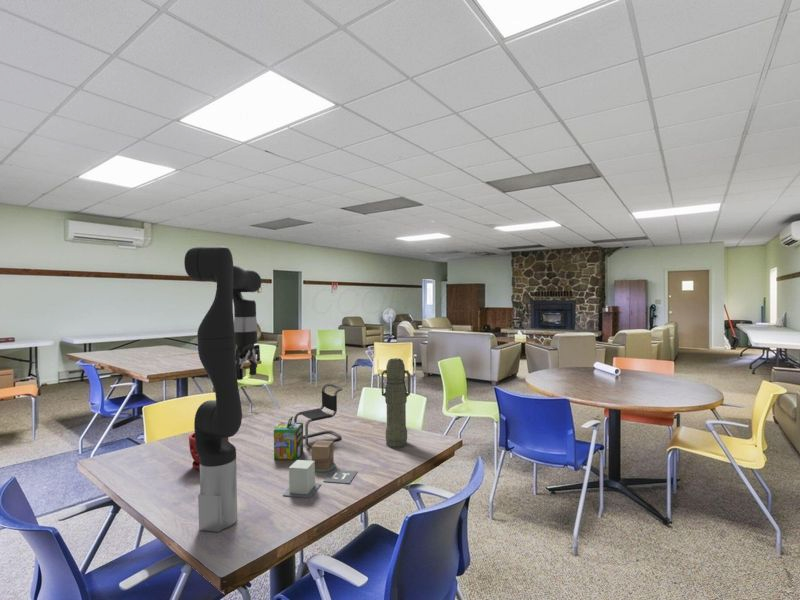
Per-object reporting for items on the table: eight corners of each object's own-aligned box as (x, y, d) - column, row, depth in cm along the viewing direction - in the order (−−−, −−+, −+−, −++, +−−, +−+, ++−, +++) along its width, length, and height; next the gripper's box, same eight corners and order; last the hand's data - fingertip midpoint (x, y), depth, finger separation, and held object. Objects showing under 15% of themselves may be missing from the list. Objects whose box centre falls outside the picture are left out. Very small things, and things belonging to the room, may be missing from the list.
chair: (344, 439, 177) (343, 388, 177) (306, 448, 167) (305, 394, 167) (330, 431, 188) (330, 382, 188) (294, 439, 178) (293, 388, 177)
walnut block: (327, 469, 146) (327, 447, 146) (311, 468, 147) (311, 446, 147) (333, 462, 152) (333, 441, 152) (318, 461, 153) (317, 440, 153)
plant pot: (236, 459, 157) (235, 428, 157) (211, 474, 144) (211, 440, 144) (207, 456, 161) (206, 425, 160) (181, 470, 148) (180, 437, 148)
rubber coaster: (330, 472, 144) (330, 471, 144) (306, 471, 146) (306, 470, 146) (339, 462, 153) (339, 461, 153) (316, 460, 155) (316, 459, 155)
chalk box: (281, 450, 166) (280, 413, 165) (304, 450, 165) (303, 413, 165) (273, 460, 156) (272, 421, 156) (297, 460, 156) (296, 421, 156)
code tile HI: (310, 498, 127) (310, 497, 127) (282, 495, 128) (282, 494, 128) (321, 484, 136) (321, 483, 136) (295, 482, 137) (295, 481, 137)
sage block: (307, 494, 128) (307, 468, 128) (289, 492, 130) (289, 467, 129) (315, 485, 134) (314, 460, 134) (297, 484, 135) (297, 459, 135)
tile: (349, 483, 136) (349, 482, 136) (323, 481, 138) (323, 480, 138) (357, 472, 145) (357, 471, 145) (332, 470, 146) (332, 469, 146)
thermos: (411, 447, 167) (410, 360, 166) (382, 448, 167) (381, 361, 166) (410, 439, 176) (409, 357, 175) (382, 440, 175) (381, 357, 175)
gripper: (244, 332, 134) (244, 381, 135) (266, 328, 148) (266, 373, 149) (223, 331, 136) (224, 381, 136) (246, 328, 150) (247, 372, 150)
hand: (246, 377), depth 142 cm, fingers open, 8 cm apart
